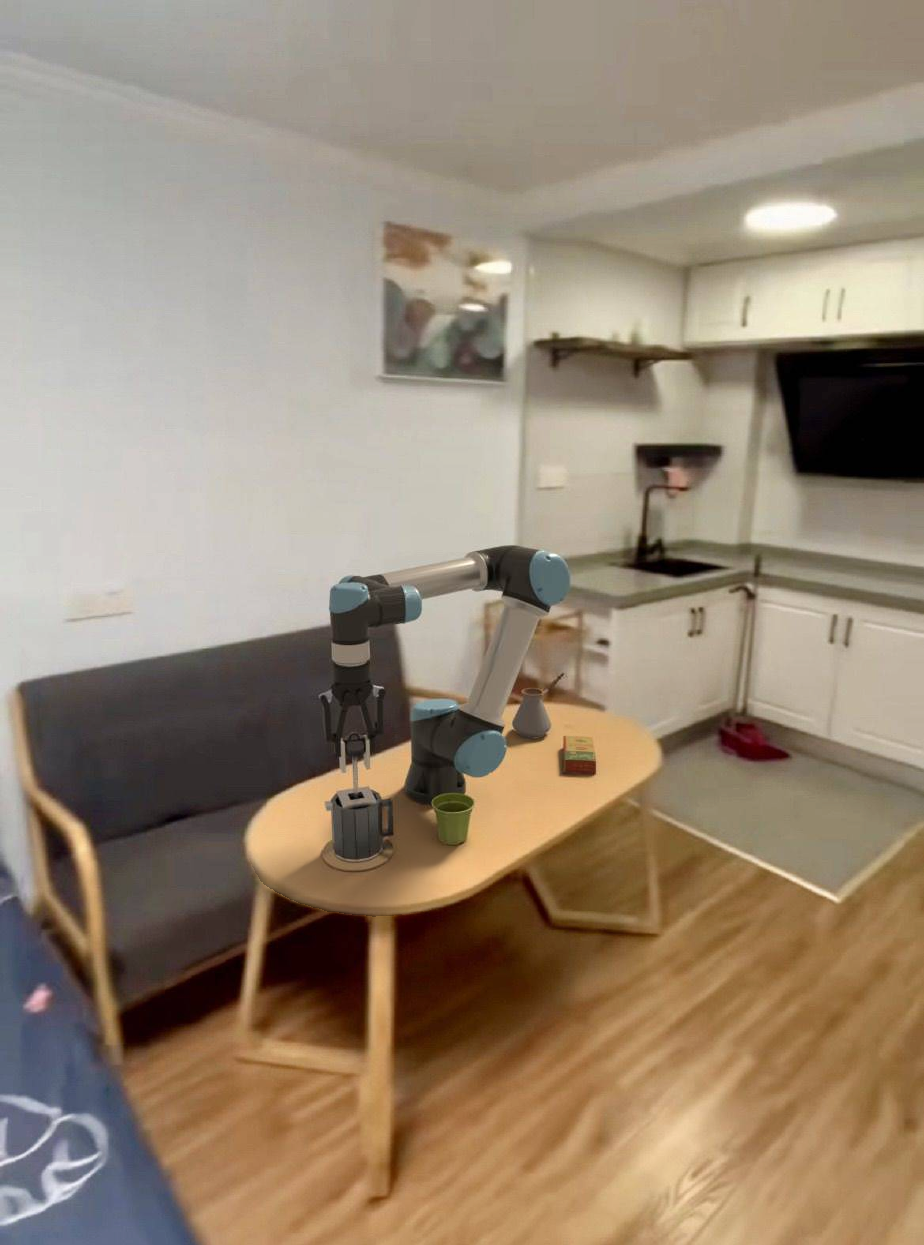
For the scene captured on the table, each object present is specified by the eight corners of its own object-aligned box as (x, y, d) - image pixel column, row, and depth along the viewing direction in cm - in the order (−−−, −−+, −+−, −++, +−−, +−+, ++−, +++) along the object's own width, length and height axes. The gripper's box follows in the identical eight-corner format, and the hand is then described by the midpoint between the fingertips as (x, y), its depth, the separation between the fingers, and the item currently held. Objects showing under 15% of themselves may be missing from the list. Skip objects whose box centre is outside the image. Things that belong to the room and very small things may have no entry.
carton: (592, 750, 221) (593, 735, 220) (596, 775, 206) (597, 760, 204) (562, 748, 222) (563, 734, 221) (564, 774, 206) (564, 758, 205)
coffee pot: (534, 744, 224) (535, 694, 220) (503, 733, 232) (504, 684, 228) (578, 723, 239) (580, 676, 235) (548, 713, 247) (549, 668, 243)
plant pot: (434, 826, 180) (434, 791, 177) (476, 828, 179) (476, 793, 176) (428, 848, 171) (428, 811, 168) (472, 850, 170) (472, 813, 167)
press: (385, 829, 178) (383, 775, 175) (402, 864, 164) (401, 806, 161) (317, 840, 173) (314, 785, 170) (329, 877, 160) (326, 818, 156)
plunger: (369, 816, 172) (366, 724, 166) (377, 831, 165) (374, 736, 160) (337, 821, 169) (333, 728, 164) (343, 837, 163) (339, 741, 158)
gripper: (389, 651, 164) (391, 755, 170) (304, 659, 159) (309, 766, 165) (398, 661, 157) (400, 769, 163) (309, 670, 152) (315, 782, 158)
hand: (355, 768), depth 164 cm, fingers closed on plunger, 4 cm apart
